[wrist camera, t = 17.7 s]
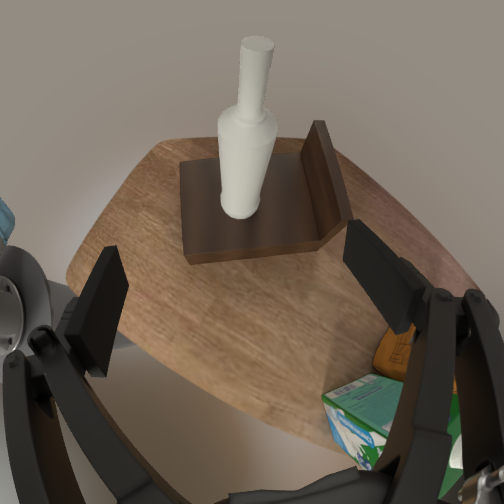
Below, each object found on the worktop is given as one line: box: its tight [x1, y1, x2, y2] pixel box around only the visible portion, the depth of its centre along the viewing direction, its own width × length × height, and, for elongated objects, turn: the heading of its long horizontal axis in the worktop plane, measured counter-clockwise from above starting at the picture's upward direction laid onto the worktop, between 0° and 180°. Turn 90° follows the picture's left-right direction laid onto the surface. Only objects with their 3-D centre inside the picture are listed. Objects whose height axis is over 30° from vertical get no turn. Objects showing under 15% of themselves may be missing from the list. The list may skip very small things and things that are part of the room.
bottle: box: [218, 36, 279, 219], centre depth 26 cm, size 5×5×25 cm
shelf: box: [180, 120, 353, 265], centre depth 37 cm, size 20×14×14 cm
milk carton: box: [322, 373, 463, 499], centre depth 26 cm, size 9×9×25 cm
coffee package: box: [372, 323, 457, 394], centre depth 30 cm, size 10×12×22 cm
